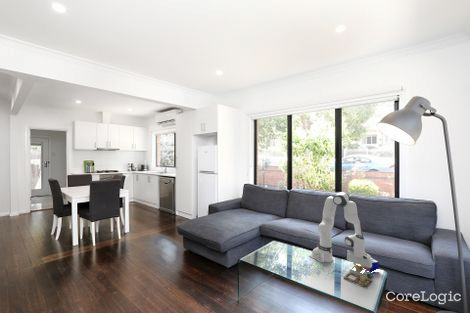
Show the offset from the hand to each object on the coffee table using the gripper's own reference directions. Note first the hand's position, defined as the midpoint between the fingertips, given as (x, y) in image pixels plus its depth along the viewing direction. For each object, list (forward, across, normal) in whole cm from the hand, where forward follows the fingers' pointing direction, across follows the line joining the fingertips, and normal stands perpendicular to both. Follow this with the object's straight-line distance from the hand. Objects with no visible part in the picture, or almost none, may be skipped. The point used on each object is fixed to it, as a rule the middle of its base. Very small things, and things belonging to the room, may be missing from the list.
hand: (358, 268), depth 204 cm
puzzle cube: (+3, +6, +10) cm, 12 cm away
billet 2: (+3, +9, -14) cm, 17 cm away
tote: (+3, 0, 0) cm, 3 cm away
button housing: (+3, +9, -2) cm, 10 cm away
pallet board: (+3, +4, -14) cm, 15 cm away
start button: (+1, +9, -3) cm, 9 cm away
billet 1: (+3, 0, 0) cm, 3 cm away
